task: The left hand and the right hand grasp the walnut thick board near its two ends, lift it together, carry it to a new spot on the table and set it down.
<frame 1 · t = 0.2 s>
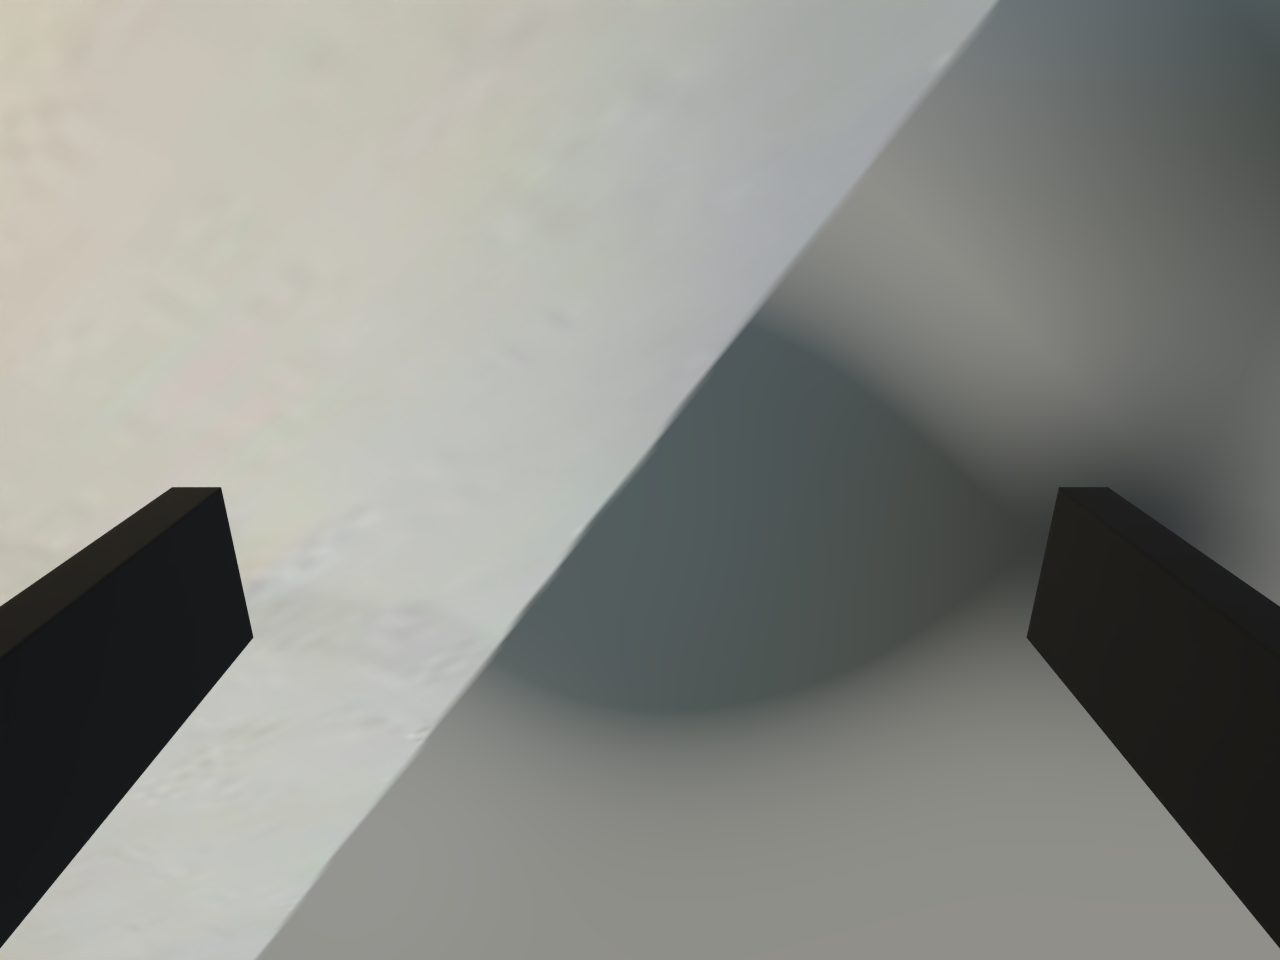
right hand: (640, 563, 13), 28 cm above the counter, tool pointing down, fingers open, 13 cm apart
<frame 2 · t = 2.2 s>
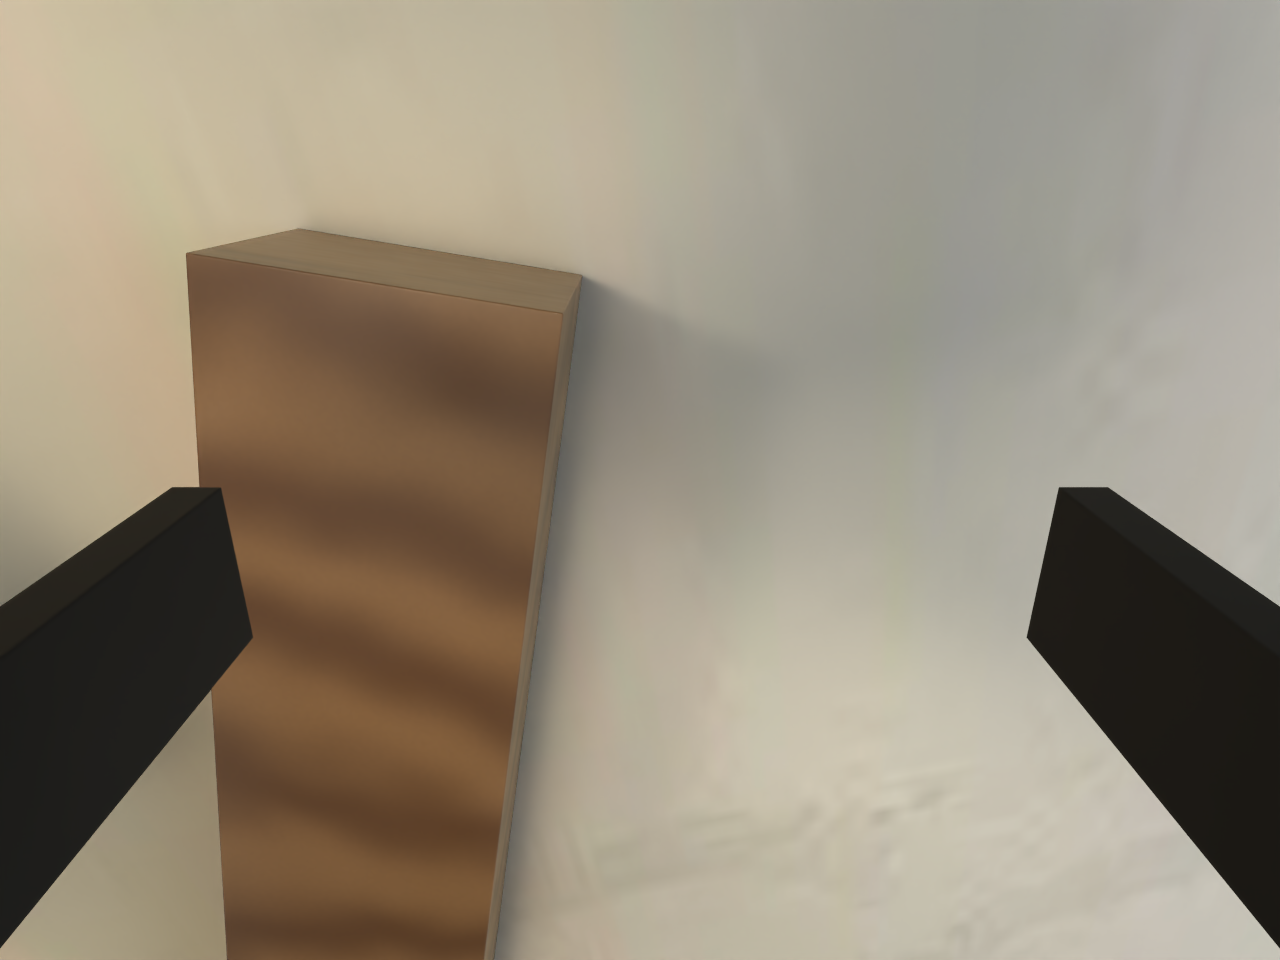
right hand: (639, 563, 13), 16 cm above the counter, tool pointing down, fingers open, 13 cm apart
thick board: (403, 861, 37), on the counter
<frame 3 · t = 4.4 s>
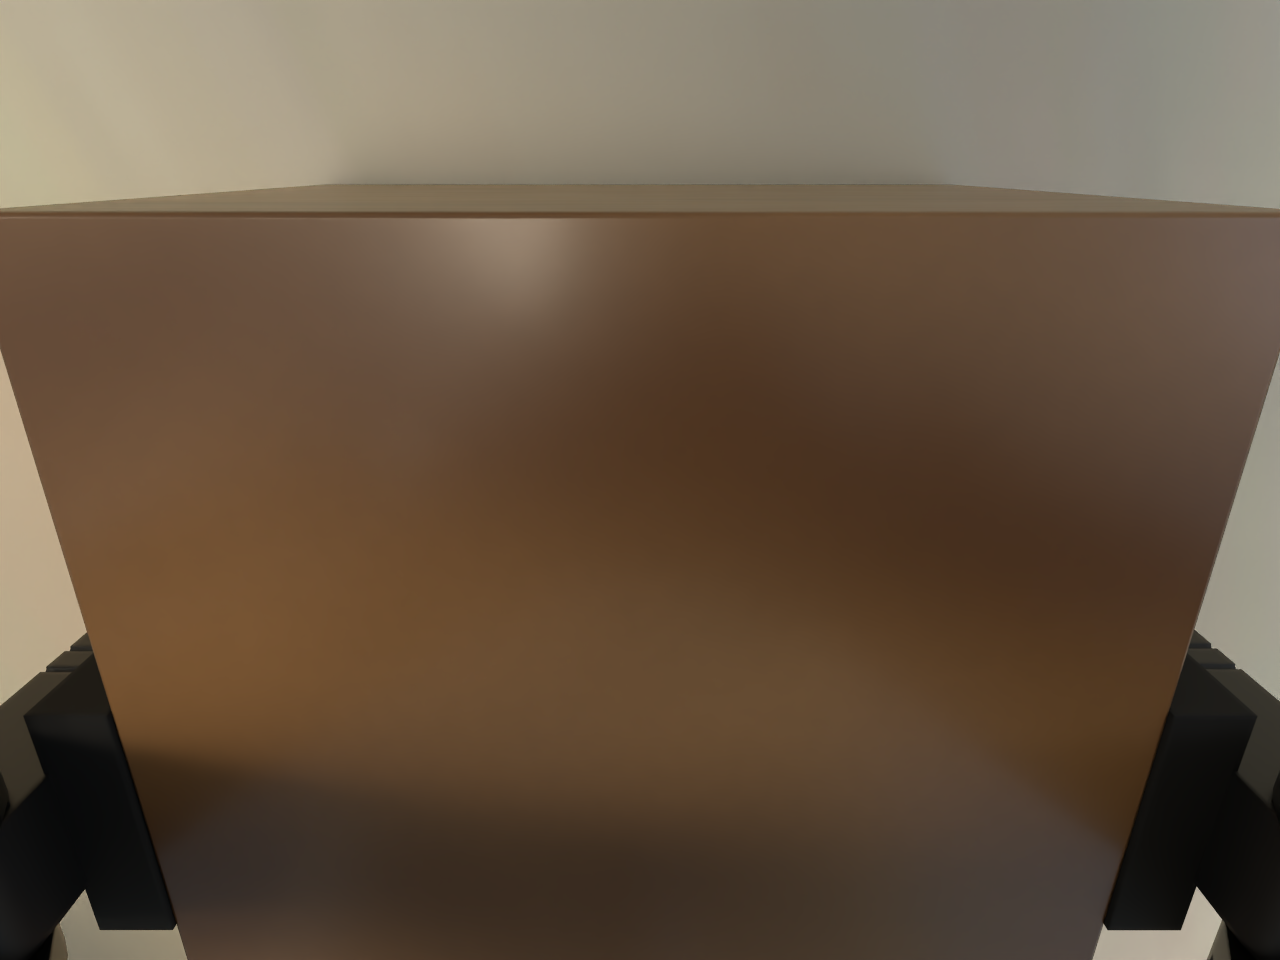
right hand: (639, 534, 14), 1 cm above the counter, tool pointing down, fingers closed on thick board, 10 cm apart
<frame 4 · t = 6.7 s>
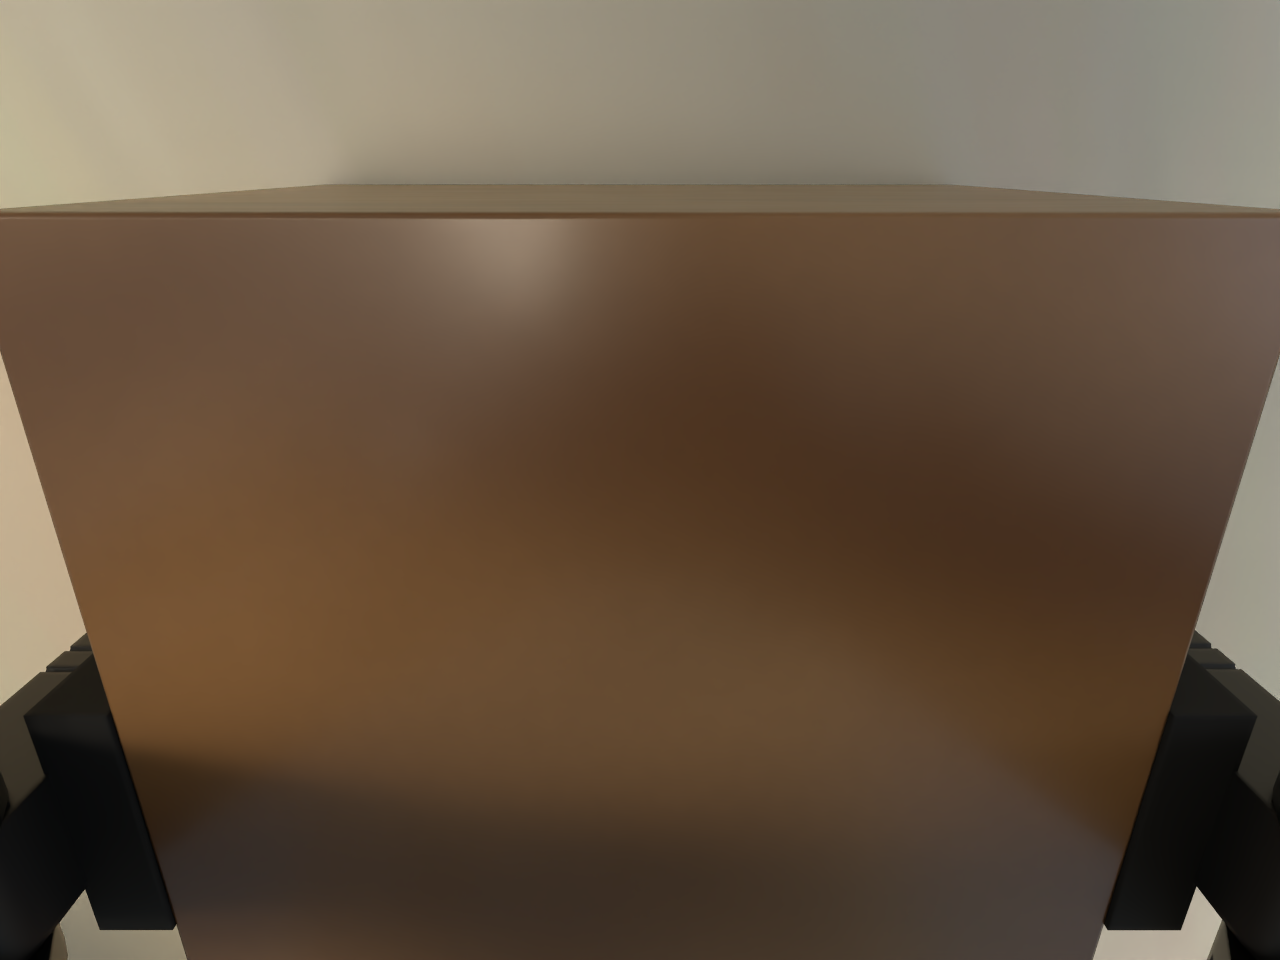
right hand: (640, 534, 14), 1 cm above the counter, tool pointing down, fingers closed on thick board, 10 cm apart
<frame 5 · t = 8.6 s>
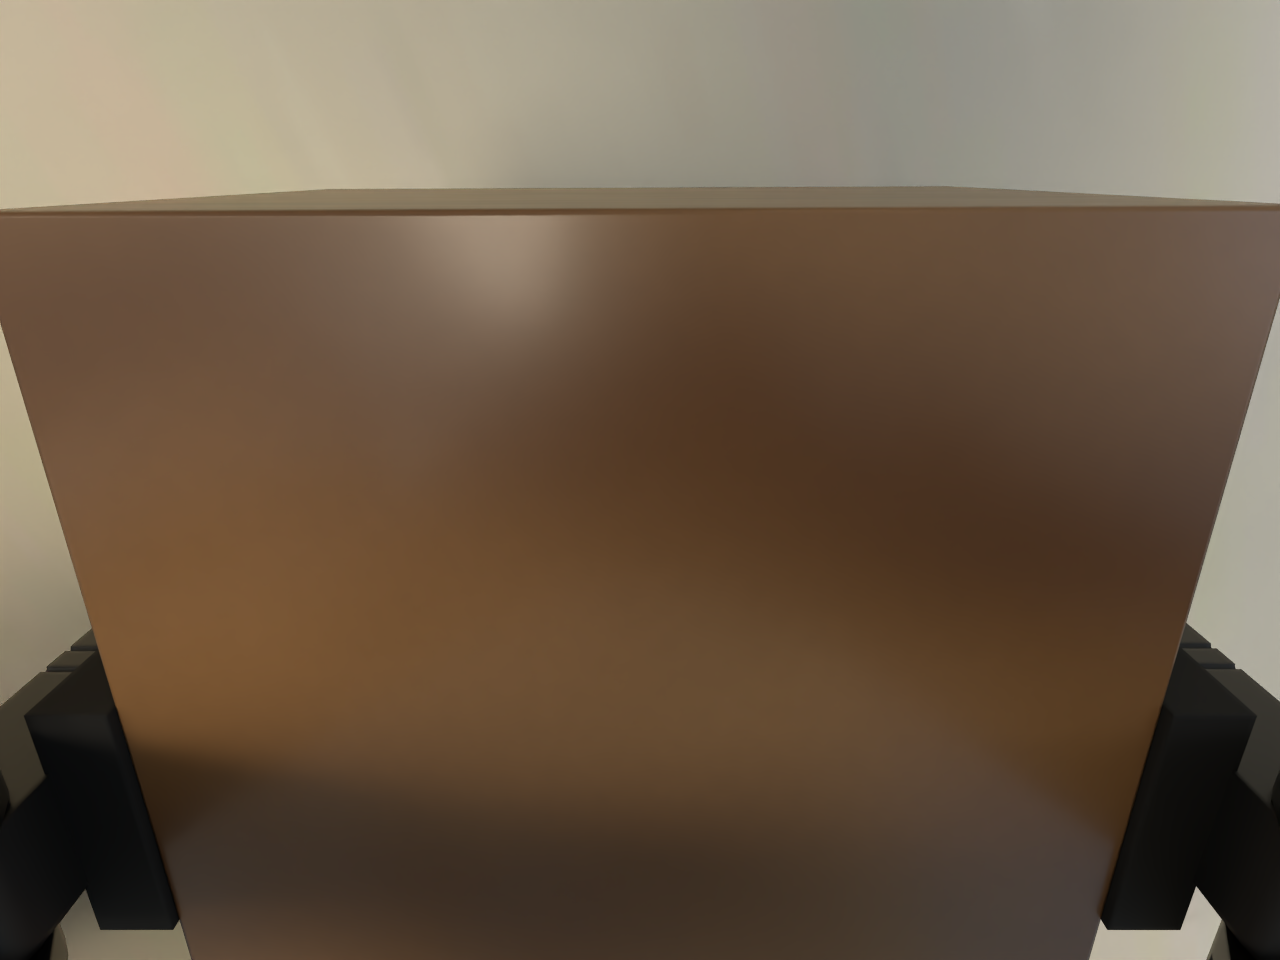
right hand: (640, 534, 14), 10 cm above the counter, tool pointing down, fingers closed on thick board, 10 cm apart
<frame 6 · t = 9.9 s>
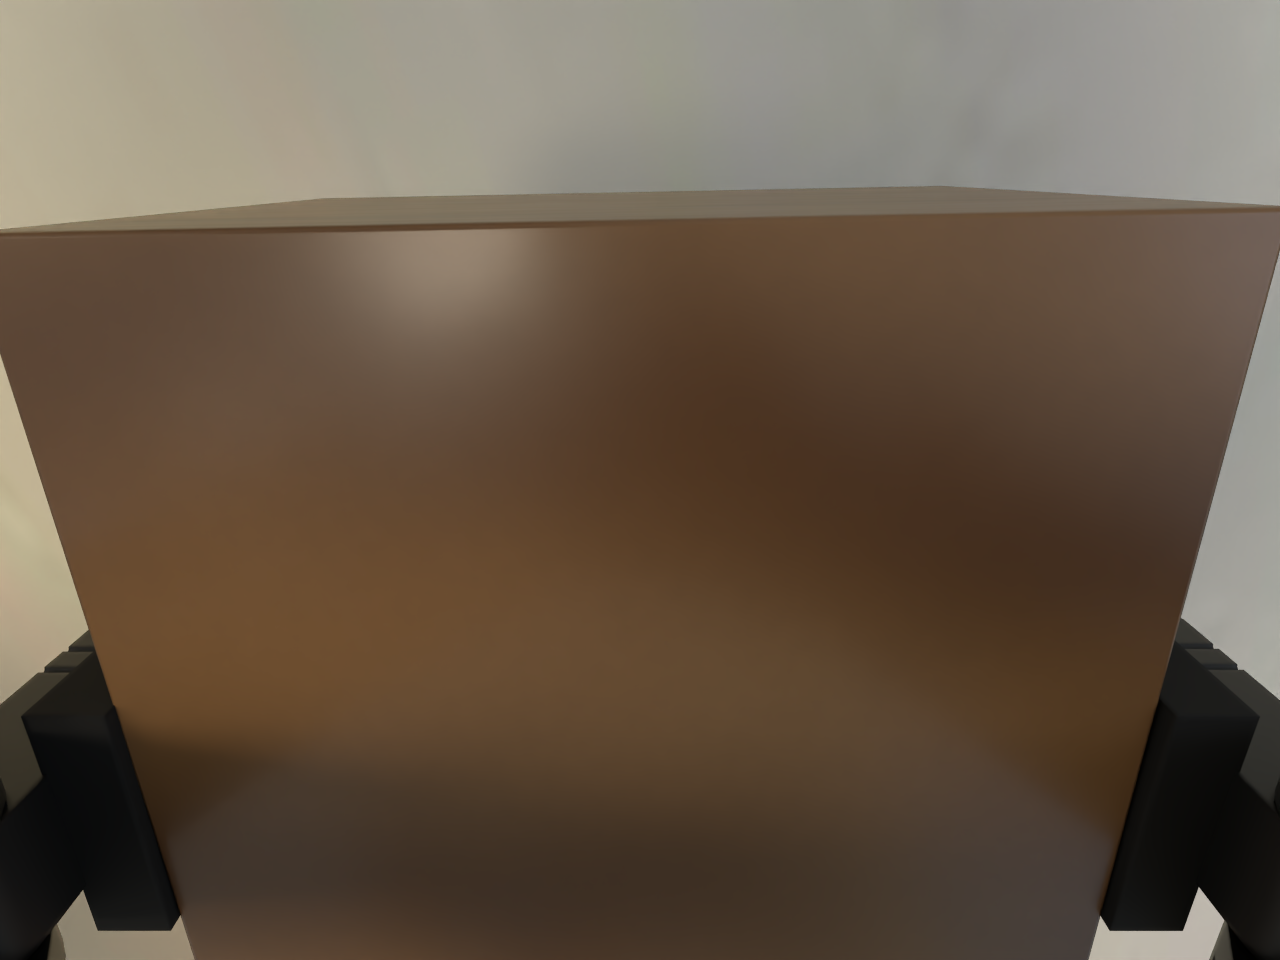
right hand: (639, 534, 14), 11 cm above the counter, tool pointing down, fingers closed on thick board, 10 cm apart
when the left hand's fingers open (2 cm above the counter, at t = 13.0 s): thick board drops 1 cm, on the counter.
when the right hand's fingers open (2 cm above the counter, at t = 13.0 s): thick board drops 1 cm, on the counter.
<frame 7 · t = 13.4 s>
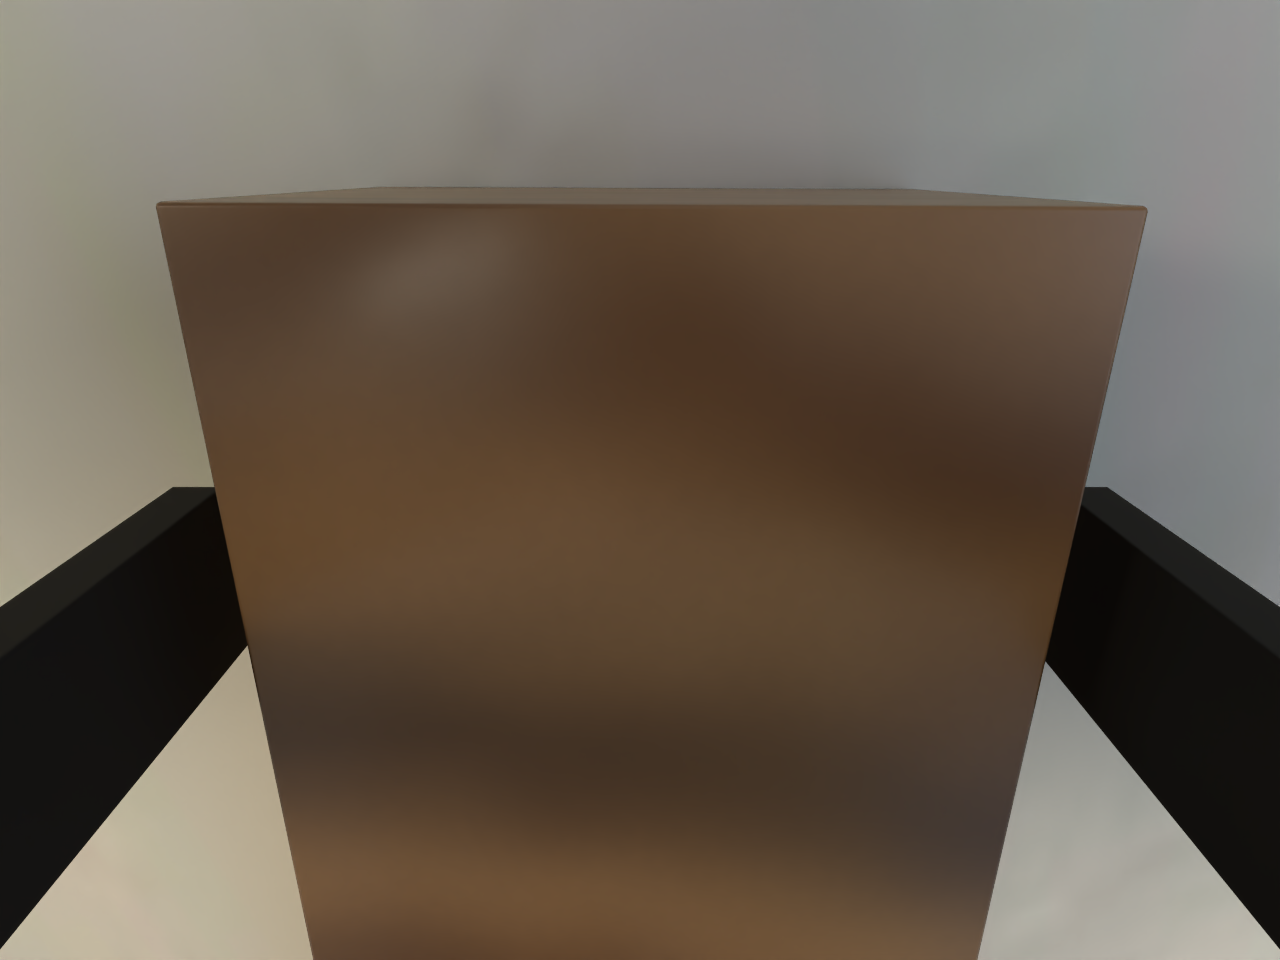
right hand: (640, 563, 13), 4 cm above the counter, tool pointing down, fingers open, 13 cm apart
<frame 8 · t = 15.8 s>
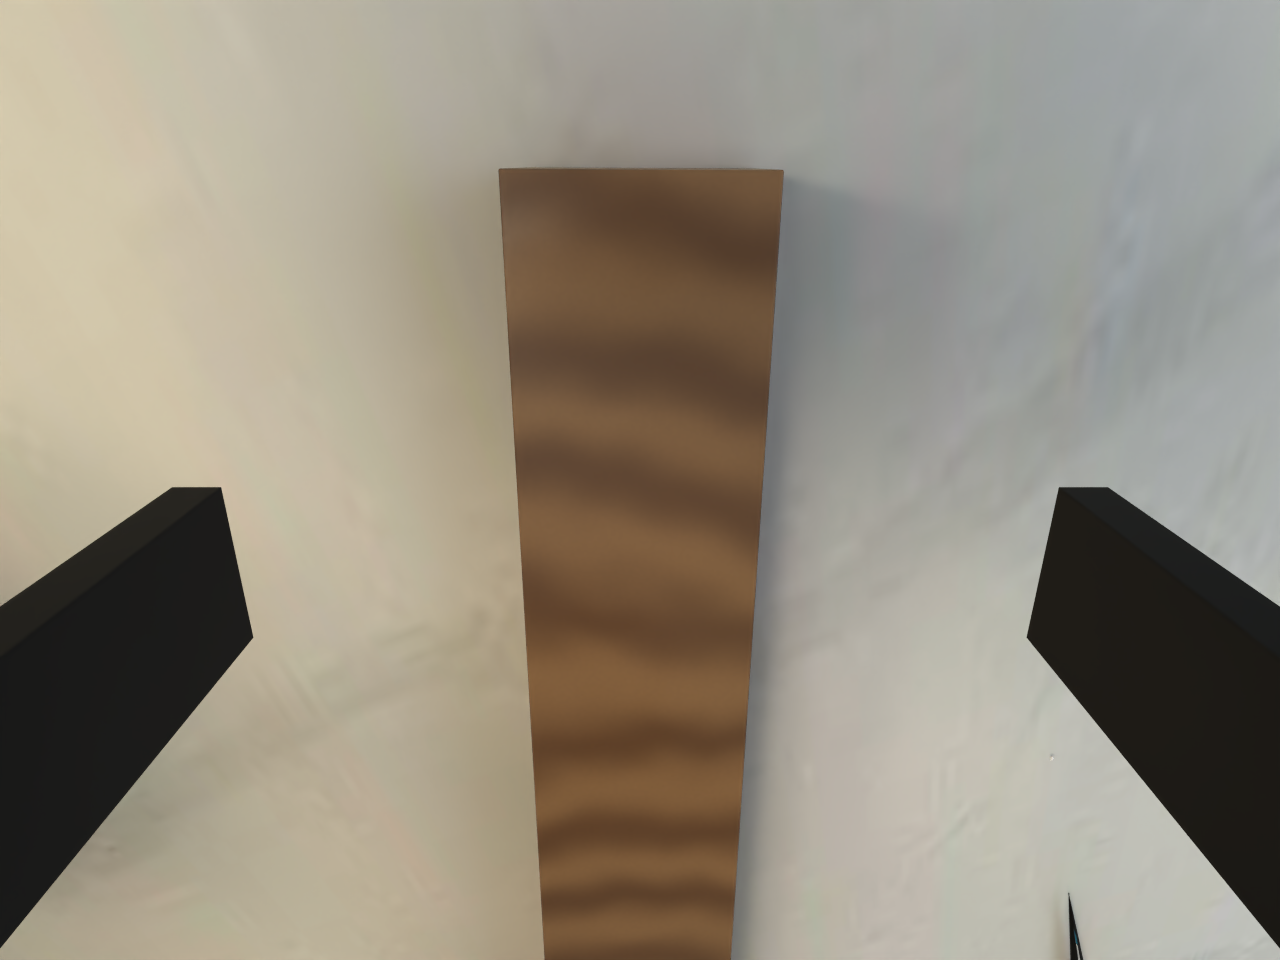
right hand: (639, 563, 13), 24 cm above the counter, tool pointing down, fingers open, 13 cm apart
thick board: (638, 718, 44), on the counter
feather: (1067, 923, 50), on the counter
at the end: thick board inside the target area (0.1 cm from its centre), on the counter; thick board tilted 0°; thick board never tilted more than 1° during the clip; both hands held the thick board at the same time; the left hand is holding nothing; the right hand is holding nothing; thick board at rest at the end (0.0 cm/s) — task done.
